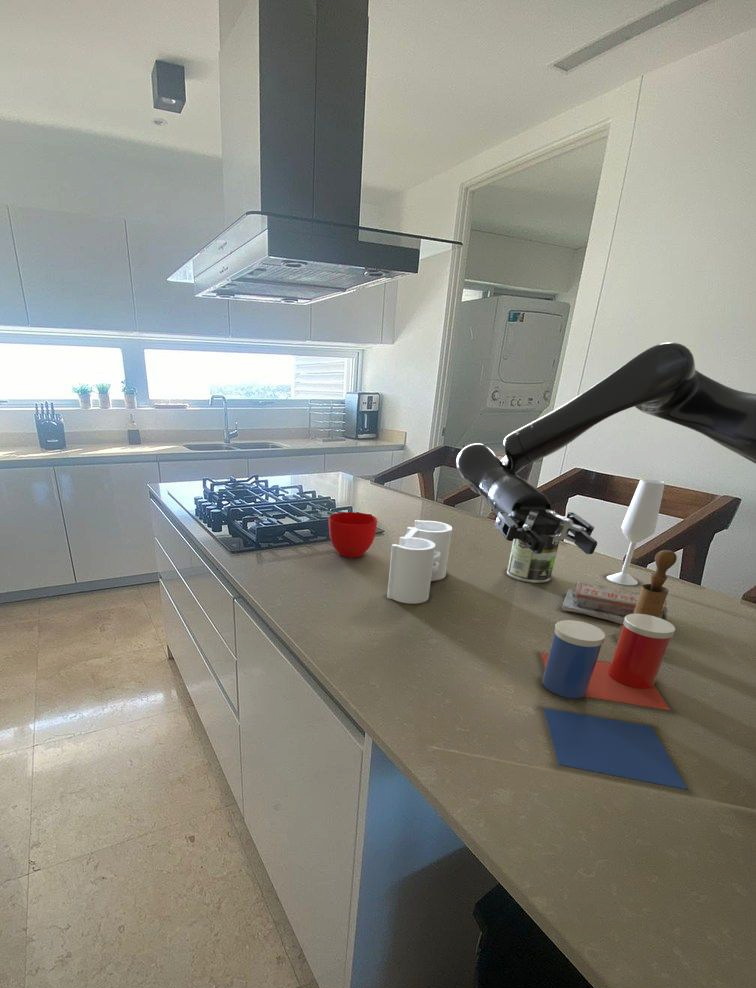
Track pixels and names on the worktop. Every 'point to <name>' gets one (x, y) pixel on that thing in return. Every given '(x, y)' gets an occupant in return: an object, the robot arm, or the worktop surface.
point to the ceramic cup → (352, 532)
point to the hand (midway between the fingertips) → (567, 548)
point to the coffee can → (533, 560)
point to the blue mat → (611, 748)
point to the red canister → (640, 650)
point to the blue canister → (572, 658)
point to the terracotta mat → (619, 689)
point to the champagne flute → (639, 522)
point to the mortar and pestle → (655, 587)
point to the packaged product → (603, 602)
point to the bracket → (418, 561)
